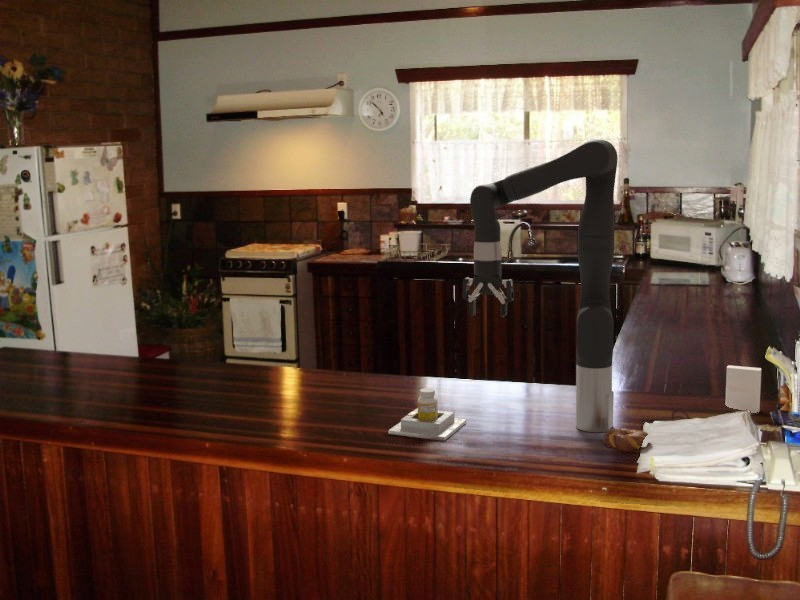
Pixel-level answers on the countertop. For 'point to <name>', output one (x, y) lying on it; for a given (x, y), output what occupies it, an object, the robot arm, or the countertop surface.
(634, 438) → the pretzel
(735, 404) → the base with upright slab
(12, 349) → the countertop surface
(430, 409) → the supplement bottle
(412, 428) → the white square holder
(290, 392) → the countertop surface
